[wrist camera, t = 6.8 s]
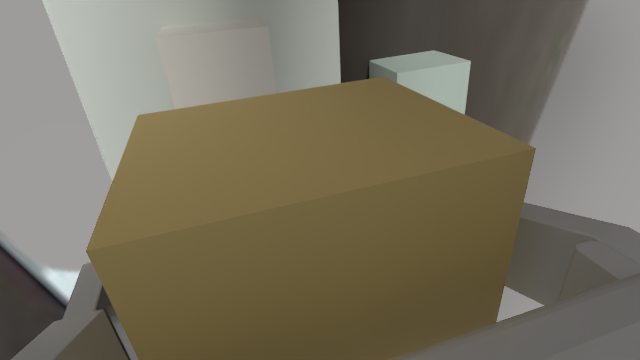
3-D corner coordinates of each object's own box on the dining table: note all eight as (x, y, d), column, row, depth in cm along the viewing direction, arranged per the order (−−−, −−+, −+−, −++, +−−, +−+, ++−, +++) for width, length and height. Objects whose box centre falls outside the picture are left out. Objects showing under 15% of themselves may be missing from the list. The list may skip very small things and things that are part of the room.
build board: (18, -81, 20) (-40, -102, 15) (328, -90, 25) (366, -109, 19) (123, 197, 29) (109, 244, 24) (338, 155, 33) (366, 187, 28)
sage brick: (368, 60, 30) (397, 73, 26) (433, 50, 32) (470, 61, 28) (369, 128, 33) (395, 150, 29) (428, 117, 35) (461, 136, 30)
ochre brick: (138, 114, 8) (85, 251, 4) (383, 76, 10) (535, 148, 5) (199, 306, 11) (206, 500, 7) (381, 255, 13) (480, 392, 8)
